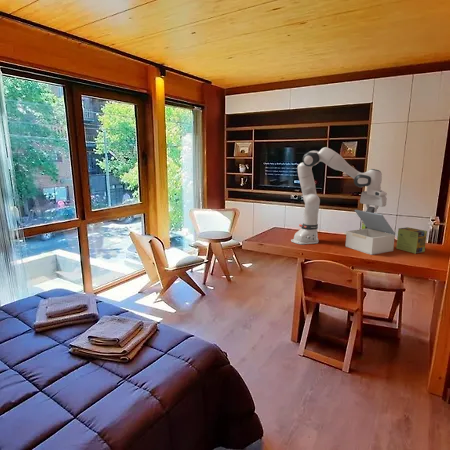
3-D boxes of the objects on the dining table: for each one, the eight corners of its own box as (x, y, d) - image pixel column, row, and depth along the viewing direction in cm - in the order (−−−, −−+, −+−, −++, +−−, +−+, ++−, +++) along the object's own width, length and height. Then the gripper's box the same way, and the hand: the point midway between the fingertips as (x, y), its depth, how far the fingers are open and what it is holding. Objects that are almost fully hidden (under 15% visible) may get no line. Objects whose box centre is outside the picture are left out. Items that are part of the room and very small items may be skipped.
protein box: (416, 253, 228) (418, 232, 225) (395, 248, 241) (398, 228, 238) (425, 251, 233) (427, 230, 230) (404, 246, 246) (407, 226, 243)
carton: (371, 254, 226) (372, 238, 223) (345, 246, 247) (346, 231, 245) (393, 250, 235) (394, 234, 233) (366, 243, 256) (367, 228, 254)
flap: (381, 215, 223) (386, 209, 224) (354, 210, 244) (358, 204, 245) (394, 234, 233) (399, 228, 234) (367, 228, 254) (371, 222, 255)
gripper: (358, 190, 240) (357, 209, 243) (382, 193, 222) (380, 213, 225) (365, 190, 243) (363, 208, 246) (388, 193, 225) (386, 213, 228)
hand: (371, 211), depth 235 cm, fingers closed on flap, 4 cm apart
